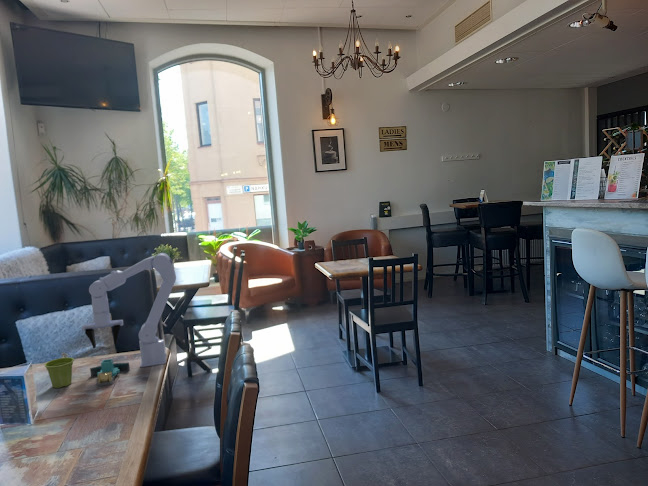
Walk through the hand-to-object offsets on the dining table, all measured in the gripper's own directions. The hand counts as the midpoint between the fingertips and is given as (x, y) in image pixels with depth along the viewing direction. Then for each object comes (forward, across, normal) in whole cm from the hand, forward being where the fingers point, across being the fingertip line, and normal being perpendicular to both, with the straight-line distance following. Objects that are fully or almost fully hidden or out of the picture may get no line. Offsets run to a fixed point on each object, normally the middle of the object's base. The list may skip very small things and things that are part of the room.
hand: (105, 345), depth 190 cm
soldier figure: (+10, +19, -14) cm, 26 cm away
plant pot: (+10, +14, +10) cm, 20 cm away
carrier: (+9, -1, +10) cm, 14 cm away
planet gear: (+8, -1, +9) cm, 12 cm away
